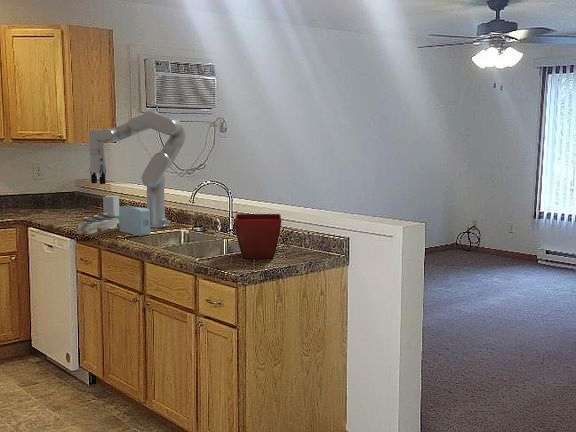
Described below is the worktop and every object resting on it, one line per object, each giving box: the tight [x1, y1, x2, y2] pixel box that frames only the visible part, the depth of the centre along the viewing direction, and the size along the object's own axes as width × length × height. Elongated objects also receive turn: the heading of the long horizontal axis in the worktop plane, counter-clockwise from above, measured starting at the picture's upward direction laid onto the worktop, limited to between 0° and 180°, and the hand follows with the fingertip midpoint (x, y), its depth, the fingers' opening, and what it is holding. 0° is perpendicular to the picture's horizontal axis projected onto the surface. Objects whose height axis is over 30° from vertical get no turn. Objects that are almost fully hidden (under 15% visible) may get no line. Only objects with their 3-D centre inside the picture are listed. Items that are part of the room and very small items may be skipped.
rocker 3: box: [101, 213, 116, 219], centre depth 371 cm, size 6×4×2 cm, turn 66°
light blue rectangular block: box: [119, 205, 151, 237], centre depth 355 cm, size 23×6×13 cm, turn 41°
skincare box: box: [102, 195, 120, 219], centre depth 390 cm, size 8×7×16 cm
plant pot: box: [234, 213, 282, 259], centre depth 291 cm, size 19×19×17 cm
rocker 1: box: [81, 216, 96, 223], centre depth 357 cm, size 6×4×2 cm, turn 66°
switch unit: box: [74, 218, 120, 236], centre depth 364 cm, size 14×26×5 cm, turn 156°
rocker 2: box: [91, 214, 106, 221], centre depth 364 cm, size 6×4×2 cm, turn 66°
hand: (98, 183), depth 378 cm, fingers open, 9 cm apart
